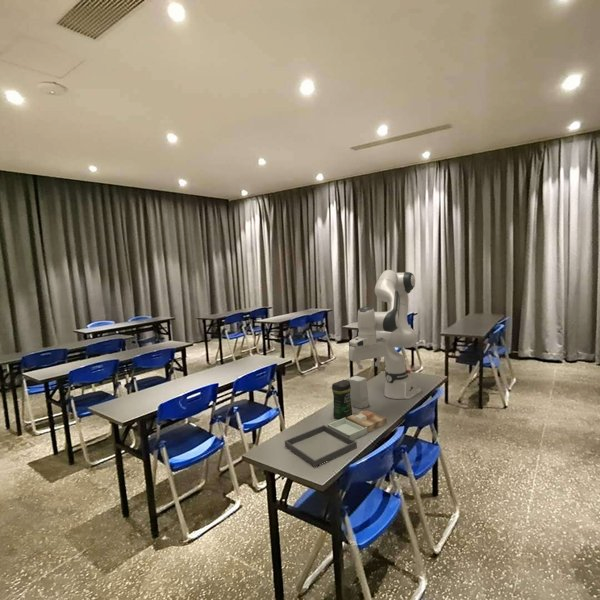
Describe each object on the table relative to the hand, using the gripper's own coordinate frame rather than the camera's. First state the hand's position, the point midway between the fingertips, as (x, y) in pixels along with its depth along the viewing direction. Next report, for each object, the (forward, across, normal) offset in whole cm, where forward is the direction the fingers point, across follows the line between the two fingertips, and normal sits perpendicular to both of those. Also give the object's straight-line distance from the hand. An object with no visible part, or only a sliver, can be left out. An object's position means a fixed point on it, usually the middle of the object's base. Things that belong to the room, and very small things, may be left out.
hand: (368, 367), depth 178 cm
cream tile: (+23, +9, +5) cm, 25 cm away
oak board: (+26, +6, +4) cm, 27 cm away
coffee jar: (+26, +12, -8) cm, 30 cm away
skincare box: (+26, -2, -16) cm, 30 cm away
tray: (+26, +18, +8) cm, 32 cm away
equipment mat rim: (+26, +34, +14) cm, 45 cm away
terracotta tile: (+23, +5, +4) cm, 24 cm away
